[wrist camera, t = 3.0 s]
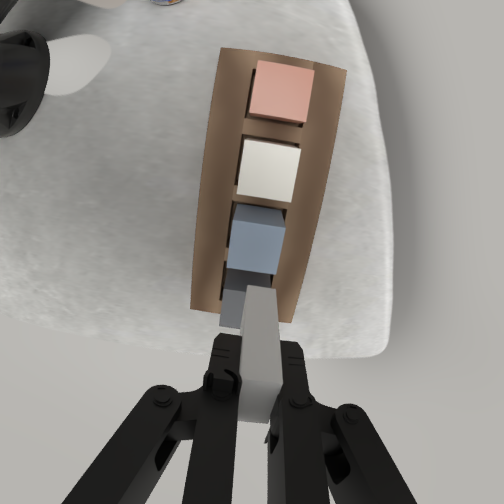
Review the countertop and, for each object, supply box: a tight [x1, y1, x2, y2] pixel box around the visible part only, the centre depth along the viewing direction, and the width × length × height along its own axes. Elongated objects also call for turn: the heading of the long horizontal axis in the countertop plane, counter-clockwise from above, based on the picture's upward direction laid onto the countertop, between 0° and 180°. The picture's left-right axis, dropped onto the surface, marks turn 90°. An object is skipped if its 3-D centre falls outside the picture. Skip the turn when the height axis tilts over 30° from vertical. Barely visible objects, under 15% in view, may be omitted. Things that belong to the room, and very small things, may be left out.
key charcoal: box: [219, 268, 271, 329], centre depth 27 cm, size 4×4×5 cm
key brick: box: [249, 60, 315, 124], centre depth 20 cm, size 4×4×5 cm
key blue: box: [226, 203, 286, 275], centre depth 25 cm, size 4×4×5 cm
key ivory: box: [237, 138, 301, 203], centre depth 23 cm, size 4×4×5 cm
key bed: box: [190, 48, 347, 323], centre depth 27 cm, size 11×26×4 cm, turn 171°
